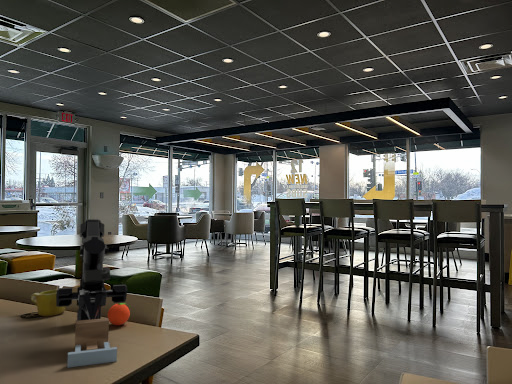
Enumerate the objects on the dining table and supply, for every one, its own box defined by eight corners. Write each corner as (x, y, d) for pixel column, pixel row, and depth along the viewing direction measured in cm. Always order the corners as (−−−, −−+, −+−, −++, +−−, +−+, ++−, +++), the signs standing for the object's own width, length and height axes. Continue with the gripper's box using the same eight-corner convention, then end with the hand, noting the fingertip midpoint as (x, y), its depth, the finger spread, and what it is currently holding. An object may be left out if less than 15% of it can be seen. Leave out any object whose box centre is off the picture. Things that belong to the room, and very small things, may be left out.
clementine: (125, 320, 133) (126, 299, 134) (136, 324, 129) (137, 302, 129) (103, 325, 127) (104, 302, 128) (113, 329, 123) (114, 306, 123)
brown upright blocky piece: (74, 351, 102) (76, 320, 103) (107, 348, 105) (108, 318, 106) (73, 363, 94) (75, 329, 94) (109, 359, 97) (110, 326, 98)
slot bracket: (68, 358, 97) (68, 346, 97) (114, 352, 102) (115, 341, 102) (67, 367, 91) (67, 354, 92) (116, 361, 96) (117, 348, 96)
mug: (77, 306, 144) (67, 281, 142) (55, 321, 135) (44, 295, 133) (53, 309, 149) (44, 285, 147) (30, 324, 139) (20, 299, 138)
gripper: (58, 259, 109) (53, 308, 98) (127, 257, 116) (130, 303, 106) (58, 282, 116) (54, 331, 105) (124, 279, 123) (126, 324, 113)
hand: (92, 321), depth 107 cm, fingers closed
